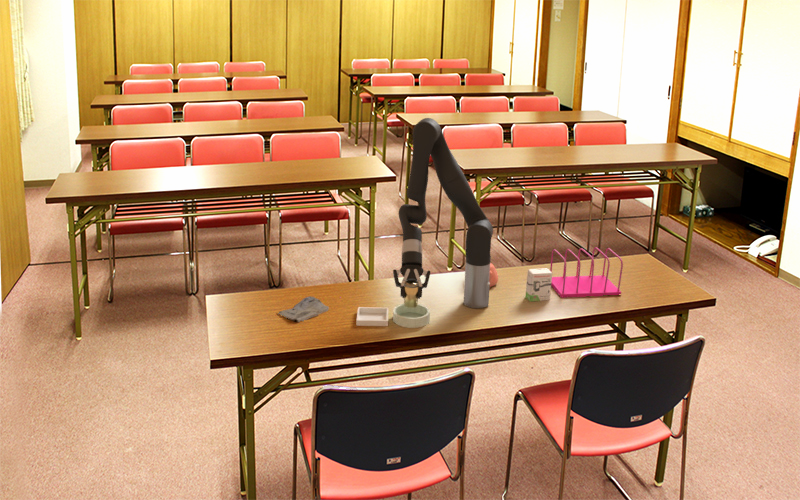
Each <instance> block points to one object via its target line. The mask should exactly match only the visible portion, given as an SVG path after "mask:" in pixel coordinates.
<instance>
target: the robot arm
mask: <svg viewBox="0 0 800 500" xmlns="http://www.w3.org/2000/svg"><path fill="white" fill-rule="evenodd" d="M447 143H448V142H447V141H446V138H445V135H444V134H443V131H442V127H441V126H440V124H439V122H437V121H436V120H435V119H434V118H430V117H425V118H422V119H421V120H420V121H418V122H417V123H416V124H415V126H413V130H412V159H411V165H410V170H409V171H410V172H409V179H408V182H407V183H408V184H407V189H406V197H407V198H408V199H409V200H410V201H411V200H412V201H414V202H417V203H418V205H415V204H407V203H406V204H402V205H401V206H400V207H399V209H398V218H399V222H400V225H401V229H402V244H401V245H402V246H401V267H400V269H393V270H392V275H393V279H394V284H395V287H396V288H400V297H401V298H402V299H404V295H405V285H404V284H405V281H408V280H414V281H417V282H419V287H418V300H419V299H421V298H422V296H423V289H425V288H427V287H428V284H429V280H430V276H431V270H424V268H423V244H422V243H423V239H422V236H423V232H422V229H421V228H419V226H416V225H424V223H425V222H426V221H427V216H428V213H427V206H426V195H427V188H428V183H429V167H430V166H429V165H430V158H431V159H432V161H433V166H434V170H435V173H436V176H437V179H438V182H439V184H440V185H441V188H442V190H443V191H444V194H445V195H446V197H447V198H448V199H449V201H450V202H451V203H453V206H455V207H456V208H457V209H458V211H460V213H461V215H462V217H463V219H464V221H465V224H466V226H467V231H466V235H465V268H464V269H465V270H464V284H463V285H464V291H463V305H465V306H466V307H468V308H471V309H482V308H488V307H489V305H490V304H489V303H490V288H491V287H490V283H489V275H490V263H491V260H492V259H491V258H492V257H491V247H492V245H491V244H492V237H493V234H494V228H493V225H492V223H491V221H490V220H489V218H488V217H487V215H486V214H485V213H484V211H483V210H482V208H481V206H480V205H479V203H478V201H477V198H476V196H475V194H474V192H473V190H472V188H471V185H470V183H469V181H468V179H467V178H466V175H465V174H464V172H463V170H462V168H461V167H460V164H459V163H458V161H457V160H456V157H455V156H454V155H453V153H452V151H451V149H450V148H449V145H448V144H447ZM400 274H401V276H402V277H403V278H402V280H401V282H400V280H399V277H400ZM422 275H423V276H424V277H425V278H424V283H422V280H421V276H422Z"/></svg>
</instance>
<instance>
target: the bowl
mask: <svg viewBox="0 0 800 500" xmlns="http://www.w3.org/2000/svg"><path fill="white" fill-rule="evenodd" d="M392 311H393V312H392V322H393V323H394V324H396V325H398V326H399V327H403V328H409V329H415V328H417V329H418V328H422V327H425V326H427V324H429V323H430V316H431V315H430V314H431V310H430V308H428V307H427V306H426V305H424V304H421V303H418V306H417V307H413V308H409V307H406V306H404V303H401V304H399V305H395V307H393V309H392Z"/></svg>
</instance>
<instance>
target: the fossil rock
mask: <svg viewBox="0 0 800 500" xmlns="http://www.w3.org/2000/svg"><path fill="white" fill-rule="evenodd" d="M329 309H330V307H329V306H328V305H325V304H324V303H323V302H322V300H320V299H319V298H317V297H314V296H307V297H306V296H305V297H304V298H303V299H301V300H300V301H298V302H297V304H295V305H294V306H293V307H292V308H289V309H283V310H281V311H278V312H279V313H278V314H277V315H279V314H280V315H279V316H281V315H282V316H284V317H286V318H285V319H287V318H288V320H291V321H294V322H295V320H296V322H297V323H301V322H300V321H302V322H304V320H305V321H307V320H309V319H312V318H314V317H318V316H319V315H320V314H323V313H326V312H328V311H329ZM282 316H281V317H282ZM284 317H283V318H284Z"/></svg>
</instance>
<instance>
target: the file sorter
mask: <svg viewBox="0 0 800 500" xmlns="http://www.w3.org/2000/svg"><path fill="white" fill-rule="evenodd" d="M596 250H597V251H598V252H599V253H600V254H601V255H602V256H603V257H604V259H603V267H602V275H601V274H600V275H599V274H598V275H594V270H595V259H594V257H595V252H596ZM581 251H582V252H583V253H585V254H586V255H587V256H588V257H589V258H590V259H591V262H590V268H589V269H590V270H589V275H580V274H581V265H582V264H581V259H580V257H581ZM608 251H609V252H611V253H612V254H613V255H615V257H616V258H617V259H619V261H620V270H619V271H620V272H619V278H618V286H616V285H615V284H614V283H613V282H612V281H611V280H610V279H609V271H610V266H611V265H610V258H609V257H608V256H607V255H608ZM554 252H555V253H556V254H558V255H559V257H561V258H562V259H563V261H564V263H563V274H562V276H552V282H551V288H553V290H554V291H555V292H556V294H558V295H559V297H560V298H561V299H562V298H587V297H586V296H594V297H604V296H603V295H619V294H621V295H622V291H621V290H620V289H621V288H620V287H621V280H622V273H623V267H624V266H623V265H624V263H623V259H622V257H620V255H618V254H617V253H616V252H614V250H612V249H611V248H610V247H608V248H606V249H605V252H603V251H602V250H601V249H600V248H598V247H596V246H595V247H593V250H592V255H591V254H590V253H589V252H587V250H585V249H584V248H582V247H581V248H579V249H578V253H577V254H578V255H576V254H575V253H574V252H573V250H571V249H570V248H567V249H566V250H565V253H564V256H563V255H562V254H561V253H560V252H559V251H558V250H557V249H555V248H554V249H552V251H551V257H550V269H549V270H550V271H551V272H552V273H553V261H554ZM568 252H569V253H571V254H572V255H573V256H574V257H575V258H576V259H577V264H576V271H575V273H576V274H575V275H572V276H571V275H569V276H566V275H567V254H568ZM606 262H607V269H605V268H606ZM605 270H606V274H605Z"/></svg>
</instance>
